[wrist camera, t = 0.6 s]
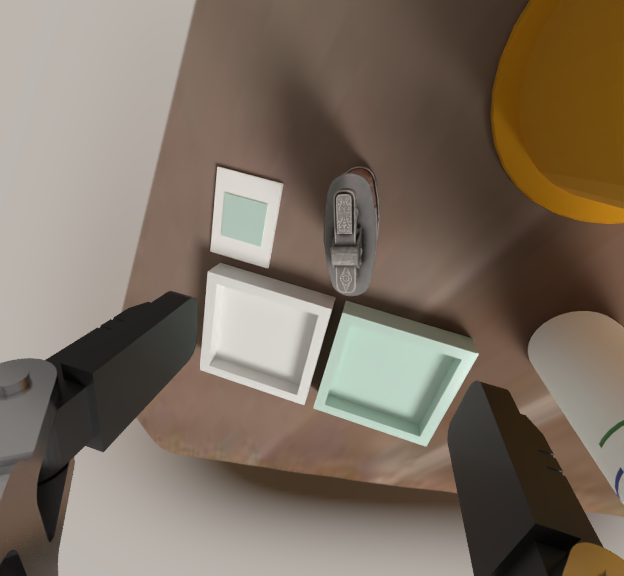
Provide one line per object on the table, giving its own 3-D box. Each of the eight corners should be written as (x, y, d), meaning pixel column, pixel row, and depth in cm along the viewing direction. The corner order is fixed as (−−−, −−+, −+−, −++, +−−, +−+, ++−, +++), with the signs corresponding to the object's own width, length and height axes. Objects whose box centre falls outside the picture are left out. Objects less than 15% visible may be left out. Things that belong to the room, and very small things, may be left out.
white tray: (220, 262, 32) (207, 271, 30) (335, 297, 31) (331, 309, 29) (211, 356, 37) (199, 369, 35) (309, 389, 36) (304, 405, 34)
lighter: (378, 261, 29) (373, 314, 20) (340, 261, 29) (319, 312, 20) (380, 164, 25) (376, 175, 16) (338, 166, 26) (311, 178, 17)
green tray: (345, 300, 31) (342, 312, 28) (471, 338, 29) (478, 354, 27) (317, 391, 36) (313, 408, 34) (423, 427, 35) (426, 446, 33)
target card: (218, 166, 28) (216, 166, 28) (283, 183, 28) (282, 184, 27) (211, 250, 32) (209, 251, 31) (268, 267, 31) (267, 269, 31)
